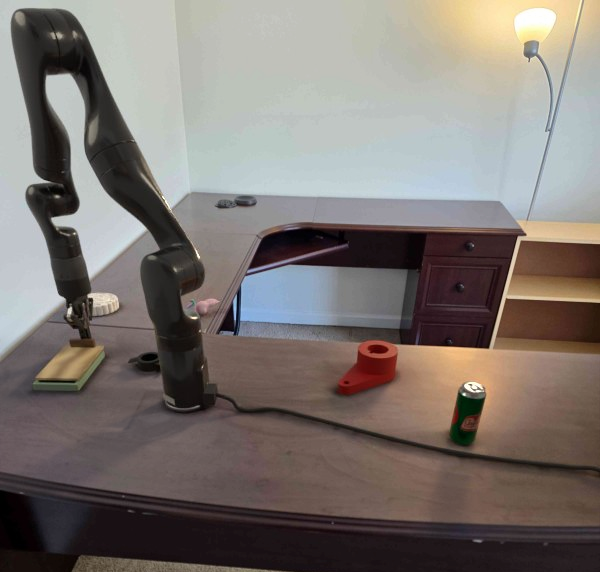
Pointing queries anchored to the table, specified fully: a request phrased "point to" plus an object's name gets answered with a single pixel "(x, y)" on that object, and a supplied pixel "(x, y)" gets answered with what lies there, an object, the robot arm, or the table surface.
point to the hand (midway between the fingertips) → (86, 340)
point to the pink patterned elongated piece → (202, 305)
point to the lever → (370, 367)
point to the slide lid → (71, 361)
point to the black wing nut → (147, 362)
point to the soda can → (467, 413)
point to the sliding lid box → (70, 386)
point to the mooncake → (104, 303)
